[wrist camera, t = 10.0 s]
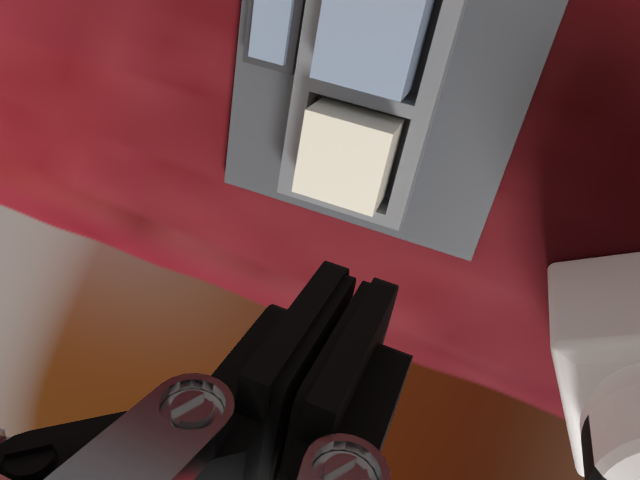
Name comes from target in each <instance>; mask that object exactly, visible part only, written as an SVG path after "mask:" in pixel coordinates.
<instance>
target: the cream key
mask: <svg viewBox="0 0 640 480" xmlns="http://www.w3.org/2000/svg"><path fill="white" fill-rule="evenodd" d="M404 121H405V119H402V118H398V117H395V116H391V115H388V114H384V113H380V112H377V111H373V110H369V109H366V108H362V107H359V106H355V105H351V104H348V103H344V102H341V101H337V100H333V99H330V98H326V97H322V98H321V99H319V100H318V101H317V102H315V103H314V104H312V105H311V106H309V107H308V108H307V109H305V113H304V119H303V125H302V131H301V137H300V143H299V149H298V155H297V161H296V167H295V173H294V179H293V185H292V192H295V193H298V194H301V195H304V196H307V197H311V198H314V199H317V200H320V201H323V202H326V203H330V204H333V205H336V206H339V207H342V208H345V209H349V210H352V211H355V212H358V213H361V214H364V215H368V216H371V217H373V215H374V213H375V212H376V210H377V208H378V207H379V205H380V203H381V202H382V200H383V198H384V197H385V193H386V189H387V185H388V182H389V178H390V174H391V170H392V166H393V163H394V159H395V155H396V151H397V147H398V143H399V140H400V136H401V132H402V128H403V124H404Z"/></svg>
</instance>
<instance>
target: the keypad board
mask: <svg viewBox="0 0 640 480" xmlns="http://www.w3.org/2000/svg"><path fill="white" fill-rule="evenodd" d="M567 3H568V0H435V2H434V6H433V9H432V13H431V17H430V21H429V25H428V29H427V32H426V36H425V40H424V44H423V48H422V52H421V55H420V59H419V63H418V67H417V71H416V75H415V78H414V82H413V86H412V89H411V91H410V92H409V93H408V94H407V95H406V96H405V97H404V99H403V100H402V101H401V102H398V101H394V100H391V99H387V98H383V97H380V96H376V95H372V94H369V93H365V92H361V91H357V90H354V89H350V88H346V87H343V86H339V85H335V84H332V83H328V82H324V81H321V80H317V79H313V78H310V71H311V65H312V59H313V53H314V46H315V40H316V34H317V28H318V22H319V16H320V10H321V4H322V0H242V5H241V15H240V26H239V36H238V46H237V57H236V67H235V77H234V88H233V98H232V108H231V119H230V129H229V139H228V150H227V160H226V171H225V181H224V182H226V183H229V184H232V185H235V186H238V187H241V188H244V189H247V190H250V191H254V192H257V193H260V194H263V195H266V196H269V197H272V198H275V199H278V200H282V201H285V202H288V203H291V204H294V205H297V206H300V207H303V208H307V209H310V210H313V211H316V212H319V213H322V214H325V215H328V216H331V217H335V218H338V219H341V220H344V221H347V222H350V223H353V224H356V225H359V226H363V227H366V228H369V229H372V230H375V231H378V232H381V233H384V234H388V235H391V236H394V237H397V238H400V239H403V240H406V241H409V242H412V243H416V244H419V245H422V246H425V247H428V248H431V249H434V250H437V251H440V252H444V253H447V254H450V255H453V256H456V257H459V258H462V259H465V260H469V261H471V259H472V256H473V254H474V251H475V248H476V246H477V243H478V240H479V238H480V235H481V232H482V230H483V227H484V224H485V222H486V219H487V216H488V214H489V211H490V208H491V206H492V203H493V200H494V198H495V195H496V192H497V190H498V187H499V184H500V182H501V179H502V176H503V174H504V171H505V168H506V166H507V163H508V160H509V158H510V155H511V152H512V150H513V147H514V144H515V142H516V139H517V136H518V134H519V131H520V128H521V126H522V123H523V120H524V118H525V115H526V112H527V110H528V107H529V104H530V102H531V99H532V96H533V94H534V91H535V88H536V86H537V83H538V80H539V78H540V75H541V72H542V70H543V67H544V64H545V62H546V59H547V56H548V54H549V51H550V48H551V46H552V43H553V40H554V38H555V35H556V32H557V30H558V27H559V24H560V22H561V19H562V16H563V14H564V11H565V8H566V6H567ZM322 97H326V98H330V99H333V100H337V101H341V102H344V103H348V104H351V105H355V106H359V107H362V108H366V109H369V110H373V111H377V112H380V113H384V114H388V115H391V116H395V117H398V118H402V119H405V121H404V124H403V128H402V132H401V136H400V140H399V143H398V147H397V151H396V155H395V159H394V163H393V166H392V170H391V174H390V178H389V182H388V185H387V189H386V193H385V197H384V198H383V200H382V202H381V203H380V205H379V207H378V208H377V210H376V212H375V213H374V215H373V217H371V216H368V215H364V214H361V213H358V212H355V211H352V210H349V209H345V208H342V207H339V206H336V205H333V204H330V203H326V202H323V201H320V200H317V199H314V198H311V197H307V196H304V195H301V194H298V193H295V192H292V185H293V179H294V173H295V167H296V161H297V155H298V149H299V143H300V137H301V131H302V125H303V119H304V113H305V109H307V108H308V107H309V106H311V105H312V104H314V103H315V102H317V101H318V100H319V99H321V98H322Z"/></svg>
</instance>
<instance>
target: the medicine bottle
mask: <svg viewBox="0 0 640 480" xmlns="http://www.w3.org/2000/svg"><path fill="white" fill-rule="evenodd" d="M547 273H548V297H549V322H550V346H551V353H552V358H553V362H554V367H555V372H556V377H557V381H558V386H559V391H560V396H561V401H562V405H563V410H564V415H565V420H566V424H567V429H568V434H569V439H570V443H571V448H572V453H573V458H574V462H575V467H576V470H577V472H578V474H579V475H581V476H583V477H585V480H640V252H634V253H626V254H619V255H611V256H603V257H595V258H587V259H579V260H571V261H563V262H556V263H552V264H550V265H549V267H548V271H547Z"/></svg>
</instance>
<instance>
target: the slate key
mask: <svg viewBox="0 0 640 480" xmlns="http://www.w3.org/2000/svg"><path fill="white" fill-rule="evenodd" d="M434 2H435V0H322V4H321V10H320V16H319V22H318V28H317V34H316V40H315V46H314V53H313V59H312V65H311V71H310V78H313V79H317V80H321V81H324V82H328V83H332V84H335V85H339V86H343V87H346V88H350V89H354V90H357V91H361V92H365V93H369V94H372V95H376V96H380V97H383V98H387V99H391V100H394V101H398V102H401V101H402V100H403V99H404V97H405V96H406V95H407V94H408V93H409V92H410V91H411V89H412V86H413V82H414V78H415V75H416V71H417V67H418V63H419V59H420V55H421V52H422V48H423V44H424V40H425V36H426V32H427V29H428V25H429V21H430V17H431V13H432V9H433V6H434Z"/></svg>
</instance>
